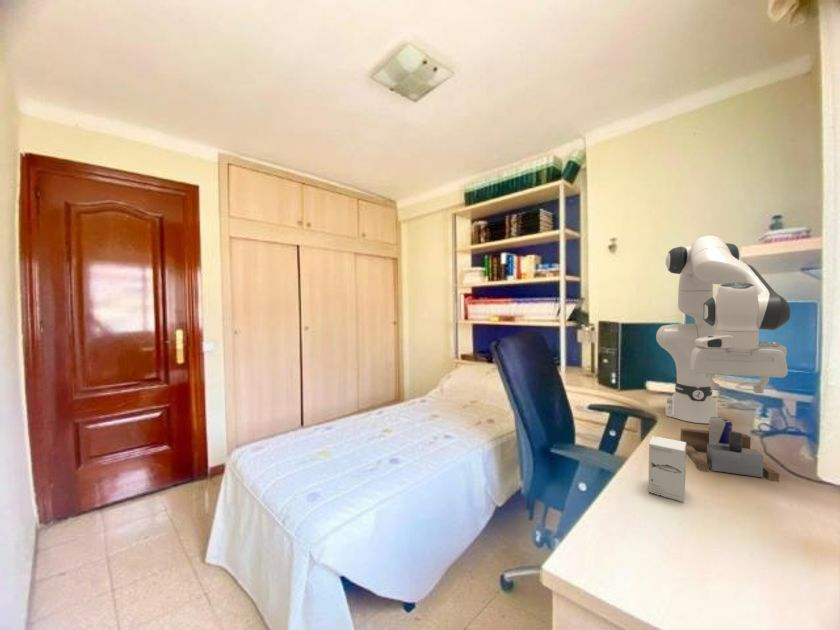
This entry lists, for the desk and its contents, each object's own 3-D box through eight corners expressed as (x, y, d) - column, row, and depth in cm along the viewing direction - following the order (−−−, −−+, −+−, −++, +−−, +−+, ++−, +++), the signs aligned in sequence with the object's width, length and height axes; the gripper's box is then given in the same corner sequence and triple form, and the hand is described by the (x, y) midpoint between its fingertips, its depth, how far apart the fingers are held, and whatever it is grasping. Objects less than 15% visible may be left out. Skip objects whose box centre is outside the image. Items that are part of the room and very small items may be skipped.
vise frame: (680, 446, 116) (680, 427, 116) (746, 454, 109) (746, 434, 109) (699, 470, 99) (699, 448, 99) (778, 481, 93) (778, 457, 93)
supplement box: (647, 493, 88) (647, 443, 87) (651, 481, 93) (651, 434, 93) (684, 503, 83) (684, 450, 83) (686, 490, 88) (686, 441, 88)
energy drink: (736, 462, 104) (736, 422, 104) (715, 461, 105) (715, 421, 105) (724, 455, 109) (724, 416, 109) (704, 453, 110) (705, 416, 110)
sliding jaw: (706, 464, 102) (707, 427, 102) (755, 470, 98) (755, 431, 98) (712, 470, 98) (712, 431, 98) (763, 477, 94) (763, 437, 94)
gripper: (779, 341, 95) (779, 391, 96) (688, 339, 103) (688, 386, 104) (793, 343, 90) (793, 397, 90) (695, 341, 98) (695, 390, 98)
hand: (736, 391), depth 97 cm, fingers open, 8 cm apart
